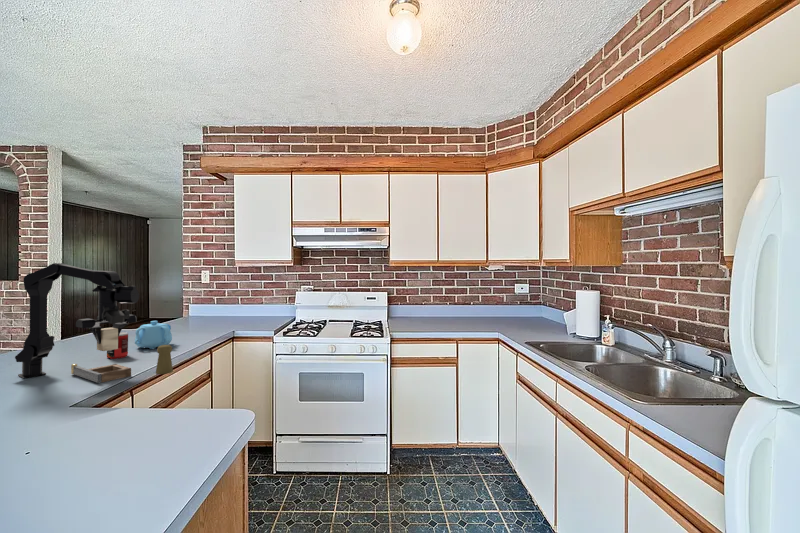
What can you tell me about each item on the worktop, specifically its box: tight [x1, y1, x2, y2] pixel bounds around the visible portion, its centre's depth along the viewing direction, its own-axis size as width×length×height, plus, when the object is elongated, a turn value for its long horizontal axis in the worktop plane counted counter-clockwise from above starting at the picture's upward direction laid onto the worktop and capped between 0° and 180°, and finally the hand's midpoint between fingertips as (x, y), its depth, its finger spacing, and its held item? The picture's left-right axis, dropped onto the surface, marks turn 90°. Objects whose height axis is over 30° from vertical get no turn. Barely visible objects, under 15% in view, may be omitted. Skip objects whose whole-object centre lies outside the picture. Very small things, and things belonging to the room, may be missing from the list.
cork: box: [155, 344, 174, 375], centre depth 159 cm, size 6×6×11 cm
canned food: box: [106, 331, 129, 360], centre depth 181 cm, size 8×8×11 cm
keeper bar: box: [70, 363, 102, 383], centre depth 148 cm, size 21×2×4 cm, turn 60°
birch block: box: [96, 327, 118, 352], centre depth 153 cm, size 5×5×8 cm
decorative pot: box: [134, 320, 173, 350], centre depth 204 cm, size 16×16×14 cm
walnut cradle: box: [88, 363, 132, 383], centre depth 151 cm, size 12×10×3 cm
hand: (107, 342), depth 153 cm, fingers closed on birch block, 5 cm apart
